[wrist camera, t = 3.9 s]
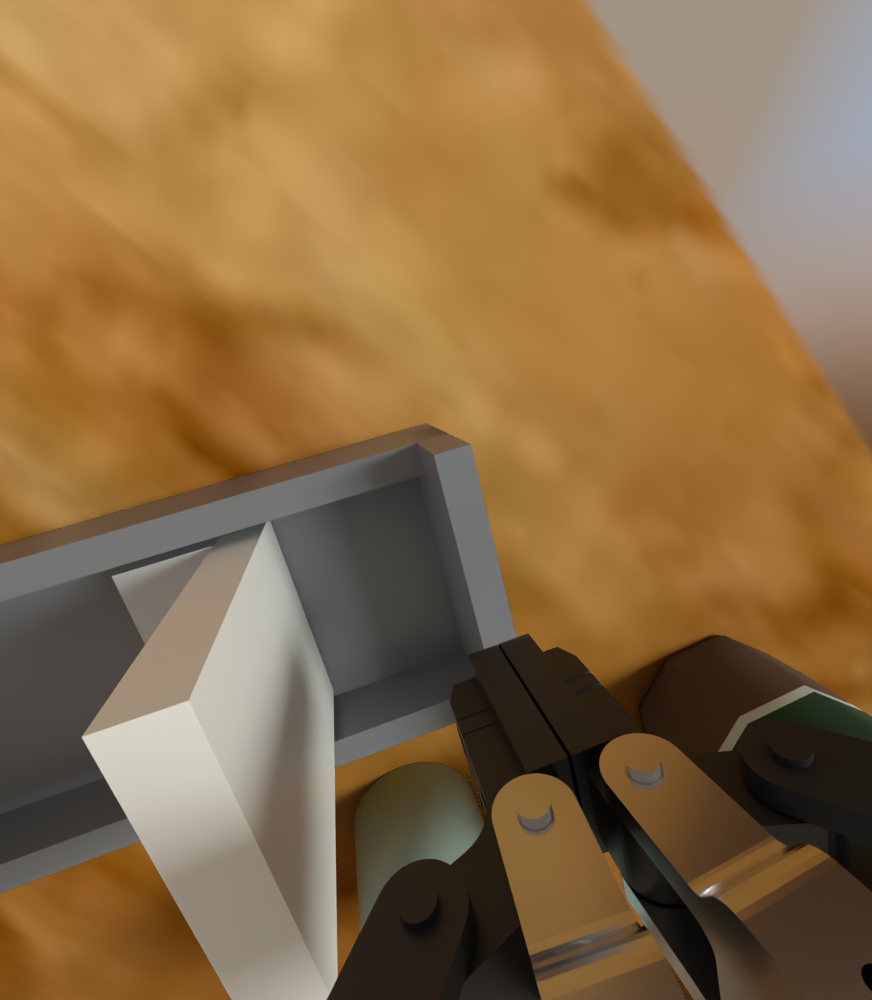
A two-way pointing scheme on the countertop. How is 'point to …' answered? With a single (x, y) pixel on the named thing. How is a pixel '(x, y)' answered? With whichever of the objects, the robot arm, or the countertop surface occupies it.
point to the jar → (411, 824)
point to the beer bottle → (739, 699)
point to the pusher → (231, 760)
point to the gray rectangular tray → (322, 592)
